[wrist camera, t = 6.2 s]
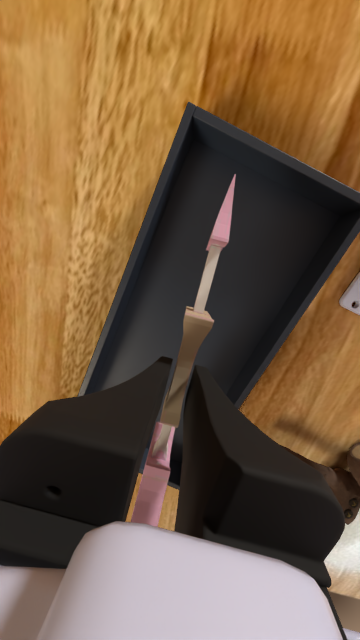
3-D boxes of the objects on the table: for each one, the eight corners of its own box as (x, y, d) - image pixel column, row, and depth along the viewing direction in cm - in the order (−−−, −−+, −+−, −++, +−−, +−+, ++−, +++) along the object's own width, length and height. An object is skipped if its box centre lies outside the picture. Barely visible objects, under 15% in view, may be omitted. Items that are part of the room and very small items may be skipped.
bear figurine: (206, 530, 19) (312, 437, 14) (206, 480, 23) (288, 393, 18) (366, 603, 20) (523, 543, 15) (340, 544, 24) (456, 479, 19)
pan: (347, 213, 14) (379, 202, 11) (184, 464, 21) (182, 491, 19) (189, 130, 13) (188, 100, 11) (77, 417, 21) (61, 439, 18)
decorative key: (231, 210, 12) (157, 479, 16) (212, 205, 12) (142, 475, 16) (278, 121, 6) (133, 619, 9) (237, 111, 6) (107, 612, 9)
